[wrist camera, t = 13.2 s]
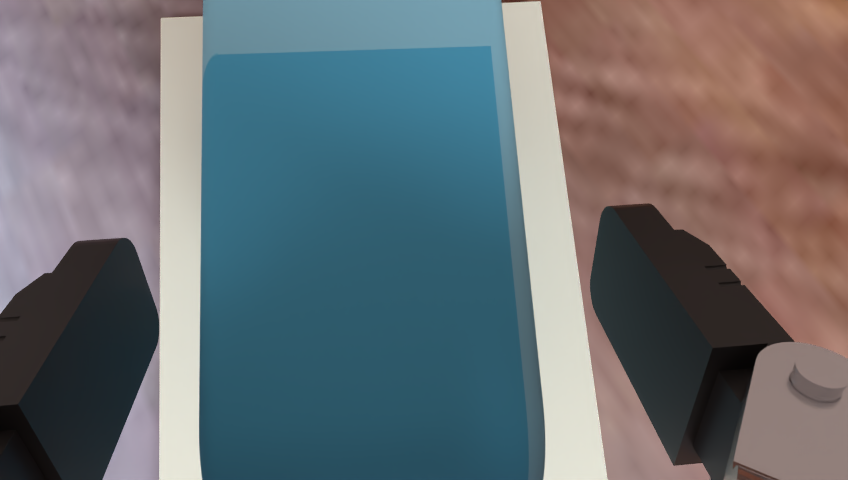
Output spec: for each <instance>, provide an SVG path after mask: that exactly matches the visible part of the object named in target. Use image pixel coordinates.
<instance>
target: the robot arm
mask: <svg viewBox="0 0 848 480" xmlns="http://www.w3.org/2000/svg"><path fill="white" fill-rule="evenodd" d="M590 292H591V299H592V304H593V308H594V310H595V313H596V315H597V317H598V319H599V321H600V323H601V325H602V327H603V329H604V331H605V333H606V335H607V336H608V338H609V340H610V342H611V344H612V346H613V348H614V350H615V352H616V354H617V356H618V358H619V360H620V362H621V364H622V366H623V368H624V370H625V372H626V374H627V375H628V377H629V379H630V381H631V383H632V385H633V387H634V389H635V391H636V393H637V395H638V397H639V399H640V401H641V403H642V405H643V407H644V409H645V411H646V413H647V415H648V416H649V418H650V420H651V422H652V424H653V426H654V428H655V430H656V432H657V434H658V436H659V438H660V440H661V442H662V444H663V446H664V448H665V450H666V452H667V454H668V455H669V457H670V459H671V461H672V463H673V465H674V466H675V465H685V464H696V463H703V465H704V466H705V468H706V470H707V472H708V473H709V475H710V479H709V480H848V359H847V358H845V357H843V356H842V355H840V354H837V353H835V352H833V351H831V350H828V349H825V348H822V347H819V346H815V345H811V344H806V343H800V342H794V340H793V339H792V338H791V337H790V336H789V335H788V334H787V333H786V331H785V330H784V329H783V328H782V327H781V326H780V325H779V324H778V322H777V321H776V320H775V319H774V318H773V317H772V316H771V315H770V313H769V312H768V311H767V310H766V309H765V308H764V307H763V305H762V304H761V303H760V302H759V301H758V300H757V299H756V298H755V296H754V295H753V294H752V293H751V292H750V291H749V290H748V289H747V287H746V286H745V285H741V281H740V280H739V278H738V277H737V276H736V275H735V274H734V273H733V272H732V271H731V269H727V268H726V264H725V263H724V262H723V260H722V259H721V258H720V257H719V256H718V255H717V254H716V253H715V251H714V250H713V249H712V248H711V247H710V246H709V245H708V244H706V243H704V242H703V241H701V240H699V239H698V238H696V237H694V236H693V235H691V234H689V233H688V232H686V231H684V230H674V229H673V228H672V227H671V226H670V225H669V223H668V222H667V221H666V220H665V219H664V217H663V216H662V215H661V214H660V212H659V211H658V210H657V209H656V208H655V207H654V206H653V205H652V204H634V205H620V206H608V207H606V208H605V209H604V210H603V212H602V214H601V218H600V223H599V229H598V236H597V242H596V248H595V254H594V260H593V266H592V272H591V279H590ZM158 337H159V319H158V313H157V309H156V306H155V303H154V300H153V297H152V295H151V292H150V289H149V286H148V283H147V280H146V277H145V275H144V272H143V269H142V266H141V263H140V260H139V257H138V255H137V252H136V249H135V247H134V245H133V244H132V242H131V241H130V240H129V239H127V238H115V239H100V240H86V241H77V242H75V243H74V244H73V245H72V246H71V247H70V249H69V250H68V252H67V253H66V254H65V256H64V257H63V259H62V260H61V261H60V263H59V264H58V265H57V267H56V268H55V270H54V271H53V272H52V273H44V274H43V275H42V276H40V277H39V278H38V279H36V280H35V281H33V282H32V283H31V284H29V285H28V286H27V287H25V288H24V289H22V290H21V291H20V292H18V293H17V294H16V295H15V296H14V297H13V299H12V300H11V301H10V302H9V304H8V305H7V306H6V308H5V309H4V310H3V311H2V313H1V314H0V480H102V479H103V477H104V474H105V472H106V469H107V467H108V464H109V462H110V459H111V457H112V454H113V452H114V449H115V447H116V445H117V442H118V440H119V437H120V435H121V432H122V430H123V427H124V425H125V422H126V420H127V418H128V415H129V413H130V410H131V408H132V405H133V403H134V400H135V398H136V395H137V393H138V390H139V388H140V386H141V383H142V381H143V378H144V376H145V373H146V371H147V368H148V366H149V363H150V361H151V358H152V356H153V354H154V351H155V349H156V346H157V342H158Z"/></svg>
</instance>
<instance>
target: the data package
mask: <svg viewBox="0 0 848 480" xmlns="http://www.w3.org/2000/svg"><path fill="white" fill-rule="evenodd" d="M199 451H200V465H201V475H202V480H543V478H544V469H545V420H544V407H543V397H542V387H541V378H540V368H539V358H538V349H537V339H536V329H535V320H534V310H533V301H532V291H531V281H530V272H529V262H528V252H527V243H526V233H525V223H524V214H523V204H522V195H521V185H520V175H519V166H518V156H517V146H516V137H515V127H514V118H513V108H512V98H511V89H510V79H509V69H508V60H507V50H506V40H505V31H504V21H503V12H502V2H501V0H203V56H202V161H201V266H200V370H199Z"/></svg>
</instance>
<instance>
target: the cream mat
mask: <svg viewBox="0 0 848 480" xmlns="http://www.w3.org/2000/svg"><path fill="white" fill-rule="evenodd" d="M502 12H503V21H504V31H505V40H506V50H507V60H508V69H509V79H510V89H511V98H512V108H513V118H514V127H515V137H516V146H517V156H518V166H519V175H520V185H521V195H522V204H523V214H524V223H525V233H526V243H527V252H528V262H529V272H530V281H531V291H532V301H533V310H534V320H535V329H536V339H537V349H538V358H539V368H540V378H541V387H542V397H543V407H544V420H545V469H544V478H543V480H607V473H606V466H605V459H604V451H603V444H602V437H601V430H600V423H599V416H598V409H597V401H596V394H595V387H594V380H593V373H592V366H591V359H590V351H589V344H588V337H587V330H586V323H585V316H584V309H583V301H582V294H581V287H580V280H579V273H578V266H577V259H576V251H575V244H574V237H573V230H572V223H571V216H570V209H569V201H568V194H567V187H566V180H565V173H564V166H563V159H562V151H561V144H560V137H559V130H558V123H557V116H556V109H555V101H554V94H553V87H552V80H551V73H550V66H549V58H548V51H547V44H546V37H545V30H544V23H543V16H542V8H541V1H535V2H512V3H502ZM202 56H203V16H195V17H172V18H161V108H160V417H159V480H202V475H201V465H200V451H199V370H200V266H201V161H202Z"/></svg>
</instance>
